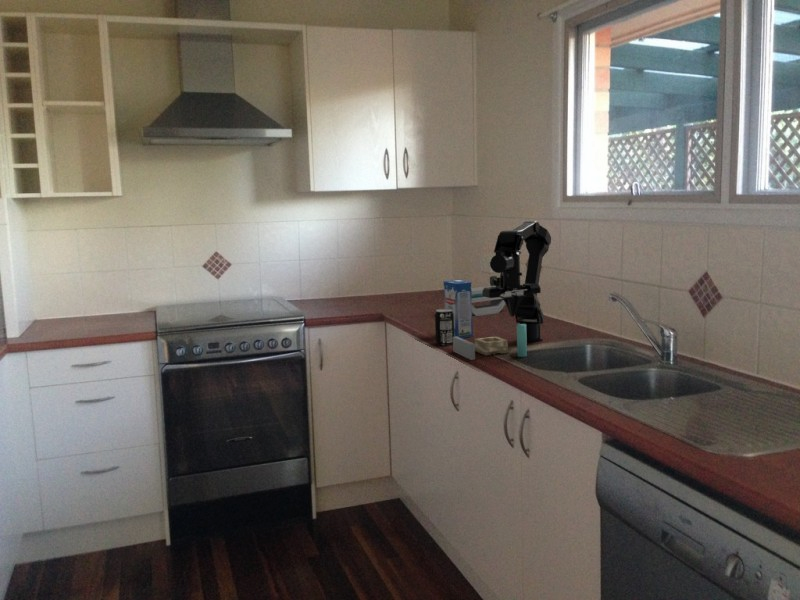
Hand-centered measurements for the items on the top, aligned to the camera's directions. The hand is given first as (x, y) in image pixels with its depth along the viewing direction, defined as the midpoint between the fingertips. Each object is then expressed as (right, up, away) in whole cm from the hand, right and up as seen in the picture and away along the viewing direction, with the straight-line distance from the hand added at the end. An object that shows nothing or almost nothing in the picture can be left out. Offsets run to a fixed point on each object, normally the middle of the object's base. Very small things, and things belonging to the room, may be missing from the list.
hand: (512, 316), depth 239 cm
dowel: (+2, -12, -8) cm, 15 cm away
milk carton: (-15, -8, +29) cm, 33 cm away
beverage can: (-21, -10, +15) cm, 28 cm away
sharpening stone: (-1, -1, +75) cm, 75 cm away
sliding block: (-7, -12, -1) cm, 14 cm away
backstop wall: (-16, -13, -4) cm, 21 cm away
